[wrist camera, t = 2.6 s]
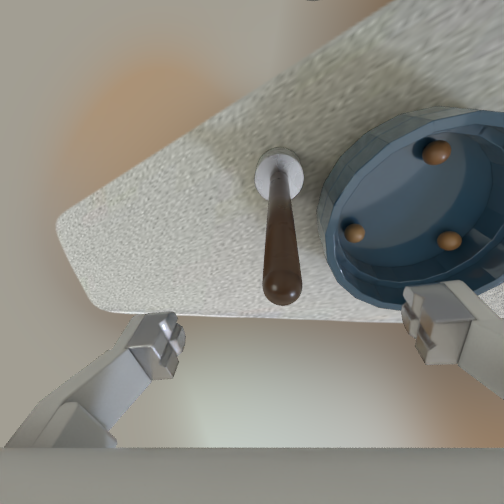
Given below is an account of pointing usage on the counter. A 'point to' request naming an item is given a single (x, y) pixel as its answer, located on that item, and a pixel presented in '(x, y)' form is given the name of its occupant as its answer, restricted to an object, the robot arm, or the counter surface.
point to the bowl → (417, 206)
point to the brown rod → (280, 224)
